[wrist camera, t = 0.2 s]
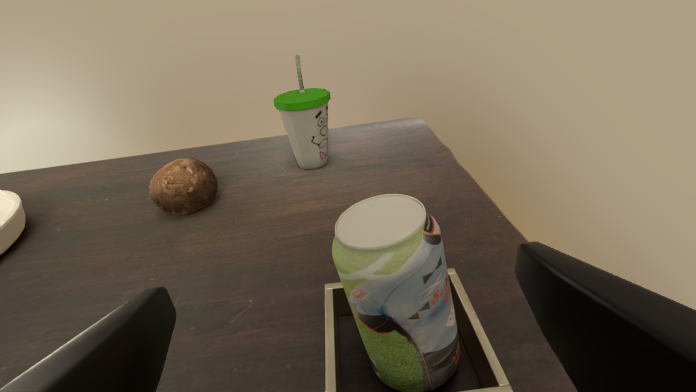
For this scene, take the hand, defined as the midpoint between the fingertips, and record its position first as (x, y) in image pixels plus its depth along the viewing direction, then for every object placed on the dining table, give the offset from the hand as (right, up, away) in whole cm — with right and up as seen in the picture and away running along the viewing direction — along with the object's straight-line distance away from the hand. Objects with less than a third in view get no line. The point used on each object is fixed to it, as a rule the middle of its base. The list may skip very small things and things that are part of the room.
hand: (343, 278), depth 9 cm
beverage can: (+4, -9, +16) cm, 18 cm away
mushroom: (-21, +1, +38) cm, 43 cm away
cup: (-5, +7, +45) cm, 46 cm away
